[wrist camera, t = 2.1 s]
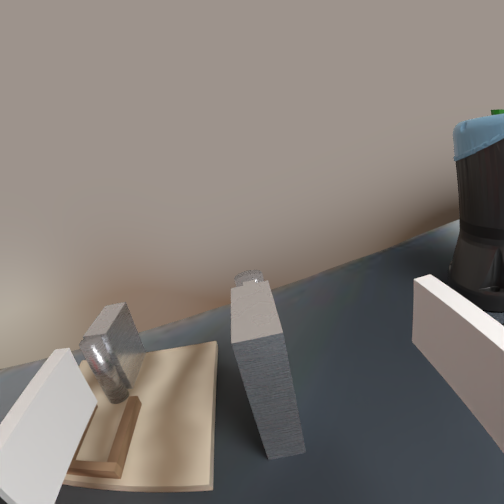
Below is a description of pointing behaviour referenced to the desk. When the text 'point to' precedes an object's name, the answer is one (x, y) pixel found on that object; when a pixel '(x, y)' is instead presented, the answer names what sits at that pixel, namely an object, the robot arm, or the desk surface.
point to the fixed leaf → (114, 351)
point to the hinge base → (153, 427)
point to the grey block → (265, 365)
